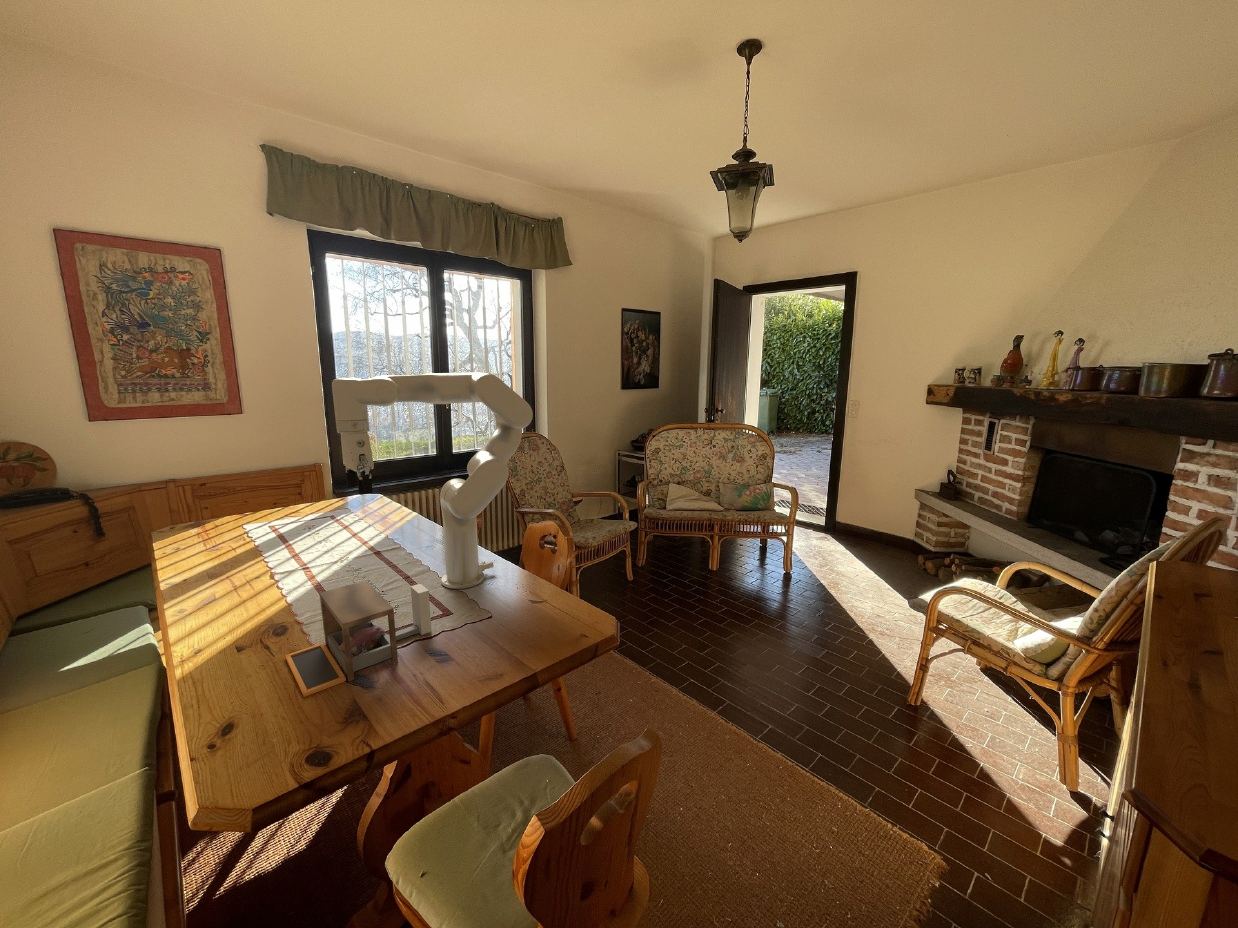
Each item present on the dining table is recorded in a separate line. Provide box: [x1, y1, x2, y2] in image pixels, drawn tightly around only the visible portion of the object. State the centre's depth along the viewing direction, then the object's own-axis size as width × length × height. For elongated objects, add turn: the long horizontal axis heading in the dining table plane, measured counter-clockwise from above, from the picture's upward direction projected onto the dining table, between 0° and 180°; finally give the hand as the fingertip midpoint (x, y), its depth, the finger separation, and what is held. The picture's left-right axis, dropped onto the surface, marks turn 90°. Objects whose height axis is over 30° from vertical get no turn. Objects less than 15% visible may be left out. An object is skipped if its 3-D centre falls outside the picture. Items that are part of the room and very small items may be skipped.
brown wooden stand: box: [319, 580, 399, 682], centre depth 112 cm, size 10×18×13 cm, turn 43°
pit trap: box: [284, 642, 347, 698], centre depth 107 cm, size 8×18×1 cm, turn 43°
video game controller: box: [335, 625, 386, 657], centre depth 113 cm, size 10×5×7 cm, turn 148°
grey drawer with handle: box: [327, 583, 432, 676], centre depth 116 cm, size 20×14×11 cm
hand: (359, 490), depth 132 cm, fingers open, 9 cm apart
